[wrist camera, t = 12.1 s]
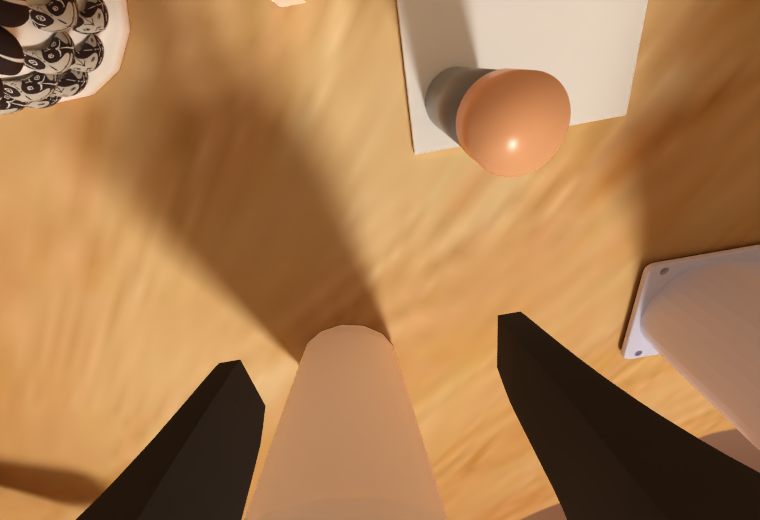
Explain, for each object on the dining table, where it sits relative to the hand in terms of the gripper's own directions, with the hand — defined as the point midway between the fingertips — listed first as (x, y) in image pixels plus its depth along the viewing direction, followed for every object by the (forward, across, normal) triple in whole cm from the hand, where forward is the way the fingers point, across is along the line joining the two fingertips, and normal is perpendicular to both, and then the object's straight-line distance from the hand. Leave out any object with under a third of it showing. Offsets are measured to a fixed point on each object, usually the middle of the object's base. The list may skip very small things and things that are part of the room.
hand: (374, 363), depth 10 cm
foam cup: (+10, +3, +10) cm, 15 cm away
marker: (+10, -5, -5) cm, 12 cm away
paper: (+10, -8, -7) cm, 15 cm away
